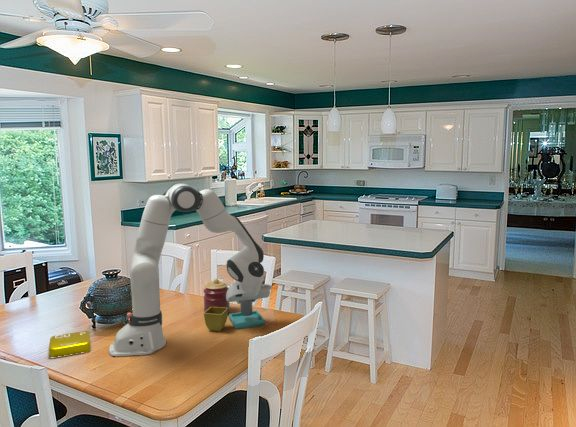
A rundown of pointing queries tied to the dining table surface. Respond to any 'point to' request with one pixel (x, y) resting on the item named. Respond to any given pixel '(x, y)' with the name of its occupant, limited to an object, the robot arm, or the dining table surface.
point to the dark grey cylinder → (246, 308)
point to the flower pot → (215, 318)
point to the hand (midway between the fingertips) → (246, 301)
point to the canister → (216, 295)
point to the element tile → (69, 344)
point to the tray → (246, 320)
